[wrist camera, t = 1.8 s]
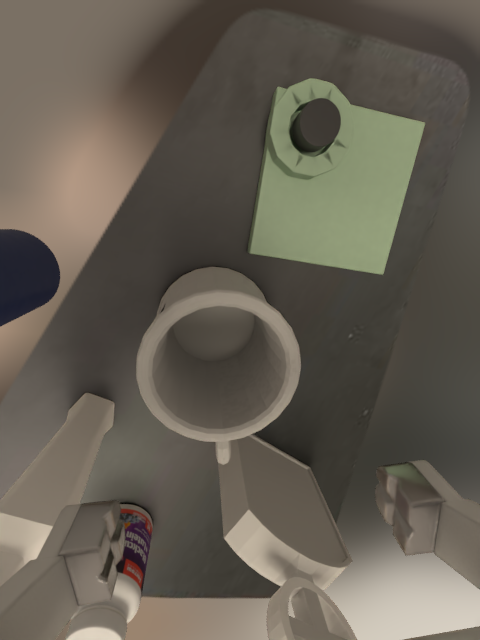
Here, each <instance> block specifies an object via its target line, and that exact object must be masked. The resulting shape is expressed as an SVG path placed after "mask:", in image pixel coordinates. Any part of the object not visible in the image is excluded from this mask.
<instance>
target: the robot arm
mask: <svg viewBox="0 0 480 640" xmlns="http://www.w3.org/2000/svg"><path fill="white" fill-rule="evenodd" d="M376 476H377V478H378V480H379V481H380V483H379V484H378V485H377V486H376V488H375V498H376V503H377V506H378V509H379V511H380V514H381V515H382V517H383V518H384V521H386V522H387V523H389V524H390V525H392V526H393V535H394V537H395V539H396V540H397V542H398V543H399V545H400V547H401V548H402V550H403V552H404V553H405V555H415V554H423V553H432V552H434V554H435V555H436V556H438V557H439V558H440V559H441V560H443V561H444V562H445V563H447V564H448V565H449V566H450V567H452V568H453V569H454V570H455V571H457V572H458V573H459V574H461V575H462V576H463V577H464V578H466V579H467V580H468V581H470V582H471V583H472V584H473V585H475V586H476V587H477V588H479V589H480V504H478V503H476V502H474V501H472V500H470V499H463V498H462V497H461V496H460V495H459V494H458V493H457V492H456V491H455V490H454V489H453V488H452V487H451V486H450V485H449V483H448V482H447V481H446V480H445V479H444V478H443V477H442V476H441V475H440V474H439V473H438V472H437V471H436V470H435V469H434V468H433V467H432V466H431V465H430V464H429V463H428V462H427V461H425V460H419V461H412V462H405V463H398V464H391V465H384V466H379V467H378V469H377V473H376ZM120 513H121V506H120V502H119V501H118V500H112V501H102V502H92V503H83V504H77V505H66V506H65V507H64V508H63V509H62V510H61V512H60V514H59V516H58V518H57V520H56V522H55V524H54V526H53V528H52V530H51V531H50V533H49V535H48V537H47V539H46V541H45V543H44V545H43V547H42V549H41V551H40V553H39V555H38V557H37V559H34V560H30V561H29V562H28V563H27V564H26V565H24V566H23V567H22V568H21V569H20V570H19V571H18V572H16V573H15V574H14V575H13V576H12V577H11V578H10V579H8V580H7V581H6V582H5V583H4V584H3V585H2V586H1V587H0V640H55V639H56V638H57V637H58V635H59V634H60V633H61V631H62V630H63V629H64V627H65V626H66V625H67V623H68V622H69V621H70V619H71V618H72V617H73V615H74V614H75V613H76V611H77V610H78V606H83V605H89V604H94V603H99V602H105V601H110V600H111V599H112V595H113V591H114V588H115V584H116V580H117V576H118V572H117V568H116V565H117V563H118V562H119V561H120V560H121V559H122V556H123V552H124V548H125V538H126V534H125V525H124V521H123V520H121V519H120V518H119V516H120ZM405 640H480V626H479V627H474V628H467V629H462V630H456V631H451V632H444V633H439V634H434V635H427V636H422V637H416V638H410V639H405Z"/></svg>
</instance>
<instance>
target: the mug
mask: <svg viewBox="0 0 480 640" xmlns="http://www.w3.org/2000/svg"><path fill="white" fill-rule="evenodd" d="M300 370H301V359H300V350H299V345H298V342H297V340H296V338H295V335H294V333H293V330H292V328H291V326H290V325H289V324H288V323H287V321H286V320H285V319H284V318H283V316H282V315H281V314H280V312H279V311H278V310H276V309H275V308H273V307H272V306H270V305H269V304H268V303H267V302H266V299H265V297H264V295H263V293H262V292H261V291H260V289H259V288H258V287H257V285H256V284H255V283H254V282H253V281H251V280H250V279H249V278H247V277H246V276H245V275H243V274H242V273H239V272H236V271H234V270H231V269H228V268H221V267H207V268H201V269H196V270H194V271H192V272H189V273H187V274H185V275H183V276H181V277H180V278H179V279H178V280H177V281H175V282H174V283H173V284H172V285H171V286H170V287H169V288H168V290H167V291H166V293H165V294H164V296H163V297H162V299H161V302H160V305H159V308H158V311H157V316H156V318H155V319H154V321H153V322H152V324H151V325H150V327H149V328H148V330H147V331H146V333H145V334H144V336H143V339H142V342H141V345H140V348H139V351H138V354H137V362H136V379H137V382H138V386H139V389H140V393H141V397H142V398H143V400H144V401H145V403H146V405H147V406H148V408H149V409H150V411H151V413H152V414H153V415H154V416H155V417H156V418H157V419H159V420H160V421H161V422H162V423H163V424H164V425H165V426H166V427H168V428H169V429H171V430H173V431H175V432H177V433H179V434H181V435H183V436H185V437H189V438H193V439H197V440H201V441H211V442H215V444H216V457H217V460H218V462H219V463H221V464H223V465H224V464H226V463H228V462H229V460H230V457H231V443H230V440H235V439H240V438H244V437H246V436H248V435H251V434H253V433H255V432H257V431H259V430H262V429H263V428H264V427H265V426H267V425H268V424H269V423H271V422H272V421H273V420H275V419H276V418H277V417H278V416H279V415H280V414H281V412H282V411H283V410H284V409H285V407H286V406H287V405H288V404H289V403H290V401H291V398H292V396H293V394H294V392H295V390H296V388H297V386H298V381H299V376H300Z"/></svg>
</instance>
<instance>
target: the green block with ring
mask: <svg viewBox="0 0 480 640" xmlns="http://www.w3.org/2000/svg"><path fill="white" fill-rule="evenodd" d="M317 98H325V99H328V100H330V101H332V102H333V103H334V104H335V105H336V106H337V108H338V110H339V112H340V116H341V126H340V130H339V133H338V135H337V137H336V138H335V139H334V140H333V141H332V142H331V143H330V144H328V145H326V146H325V147H323V148H322V149H320V150H319V151H316V152H305V151H303V150H301V149H300V148H299V147H298V146H297V145H296V143H295V141H294V139H293V135H292V126H293V123H294V120H295V118H296V117H297V115H298V114H299V113H300V112H301V111H302V109H303V108H304V107H305V106H306V105H307V104H308V103H309V102H310V101H312V100H314V99H317ZM424 126H425V123H424V122H420V121H416V120H412V119H408V118H404V117H400V116H396V115H391V114H387V113H383V112H379V111H375V110H371V109H367V108H363V107H359V106H355V105H351V104H350V103H349V101H348V100H347V99H346V97H345V96H344V95H343V94H342V93H341V92H340V91H339V90H338V88H337V87H336V86H335V85H334V84H333V83H330V82H326V81H322V80H318V79H314V78H310V79H307V80H305V81H302V82H300V83H297V84H295V85H292V86H290V87H289V88H288V89H285V88H281V87H277V89H276V91H275V93H274V94H273V99H272V105H271V111H270V115H269V119H268V125H267V131H266V137H265V139H266V141H265V147H264V153H263V159H262V165H261V171H260V177H259V183H258V189H257V195H256V202H255V208H254V214H253V220H252V226H251V232H250V238H249V244H248V250H247V252H248V253H250V254H256V255H262V256H268V257H274V258H281V259H287V260H293V261H300V262H306V263H312V264H318V265H325V266H331V267H337V268H344V269H350V270H356V271H362V272H369V273H375V274H381V275H383V273H384V269H385V266H386V262H387V259H388V255H389V251H390V248H391V244H392V241H393V237H394V233H395V230H396V226H397V223H398V219H399V215H400V212H401V208H402V205H403V201H404V198H405V194H406V190H407V187H408V183H409V180H410V176H411V172H412V169H413V165H414V162H415V158H416V154H417V151H418V147H419V144H420V140H421V137H422V133H423V129H424Z"/></svg>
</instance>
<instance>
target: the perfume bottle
mask: <svg viewBox="0 0 480 640" xmlns="http://www.w3.org/2000/svg"><path fill="white" fill-rule="evenodd" d="M114 406H115V404H114V402H112V401H110V400H107V399H104V398H102V397H99V396H96V395H93V394H91V393H85V394H84V395H83V396H82V397H81V398H80V399H79V400H78V401H77V402H76V403H75V404H74V405H73V406H72V407H71V408H70V409H69V411H68V415H67V420H66V422H65V423H64V424H63V426H62V427H61V428H60V429H59V430H58V432H57V433H56V434H55V435H54V436H53V438H52V439H51V440H50V441H49V442H48V444H47V445H46V446H45V447H44V448H43V450H42V451H41V452H40V453H39V454H38V456H37V457H36V458H35V459H34V460H33V462H32V463H31V464H30V465H29V466H28V468H27V469H26V470H25V471H24V472H23V474H22V475H21V476H20V477H19V478H18V480H17V481H16V482H15V483H14V484H13V486H12V487H11V488H10V489H9V490H8V491H7V493H6V494H5V495H4V496H3V497H2V499H1V500H0V587H1V586H2V585H3V584H4V583H5V582H6V581H7V580H8V579H10V578H11V577H12V576H13V575H14V574H15V573H16V572H18V571H19V570H20V569H21V568H22V567H23V566H24V565H26V564H27V563H28V562H29V561H30V560H34V559H37V557H38V555H39V553H40V551H41V549H42V547H43V545H44V543H45V541H46V539H47V537H48V535H49V533H50V531H51V530H52V528H53V526H54V524H55V522H56V520H57V518H58V516H59V514H60V512H61V510H62V509H63V508H64V507H65V506H66V505H77V504H80V501H81V498H82V496H83V493H84V490H85V487H86V484H87V481H88V479H89V476H90V473H91V470H92V467H93V464H94V462H95V459H96V456H97V453H98V450H99V447H100V444H101V442H102V439H103V436H104V434H105V433H106V432H107V431H108V430H109V429H110V428H111V427H113V421H114Z"/></svg>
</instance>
